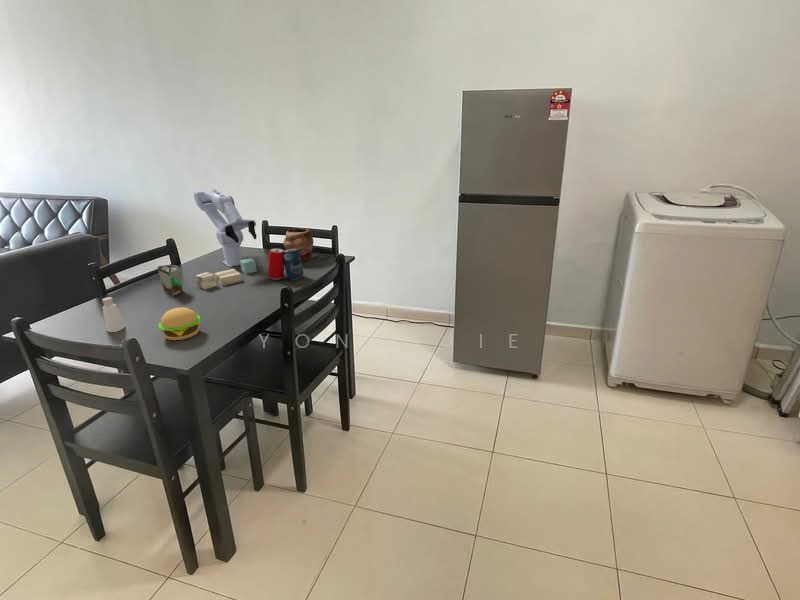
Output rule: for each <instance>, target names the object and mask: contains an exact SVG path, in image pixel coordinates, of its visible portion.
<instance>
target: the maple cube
mask: <svg viewBox="0 0 800 600" xmlns="http://www.w3.org/2000/svg"><path fill="white" fill-rule="evenodd" d="M195 278H196V283H197V288H199V289H202V290H208V289H210V288H213V287H216V286H217V283H216V282H217V281H216V278H215V273H214V274H213V273H212V272H209V271H205V272H202V273H200V274H195Z"/></svg>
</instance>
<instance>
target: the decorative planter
mask: <svg viewBox="0 0 800 600" xmlns="http://www.w3.org/2000/svg"><path fill="white" fill-rule="evenodd" d="M282 243H283V246H284V248H285V249H288V248H297V250H298V251H299V253H300V258H301V263H303V262H307V261H310V260H311V259H312V255H313V248H314V247H313V246H314V237H313V233H312V231H311V230H309V229H308V228H291V229H288V230H287V231H286V232H285V238H284V240H283V241H282Z"/></svg>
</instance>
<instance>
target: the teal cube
mask: <svg viewBox="0 0 800 600" xmlns="http://www.w3.org/2000/svg"><path fill="white" fill-rule="evenodd" d="M256 264H257V263H256V260H255V259H253V258H252V257H251V258H250V257H249V258H245V259H243V260H240V265H239V266H240V269H241V270H240V271H241V272H242V273H244V274H245V275H247V274H251V273H255V272H257V271H258V269H257V265H256Z"/></svg>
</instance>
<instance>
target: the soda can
mask: <svg viewBox="0 0 800 600" xmlns="http://www.w3.org/2000/svg"><path fill="white" fill-rule="evenodd" d="M282 250H283V260H284V271H285V274H286V277H287V278H288V279H289V280H291V281H294V280H298V279H302V278H303V276H304V269H303V262H301V258H300V253H299V251H298V250H297V248H288V249H286V248H285V249H282Z"/></svg>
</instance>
